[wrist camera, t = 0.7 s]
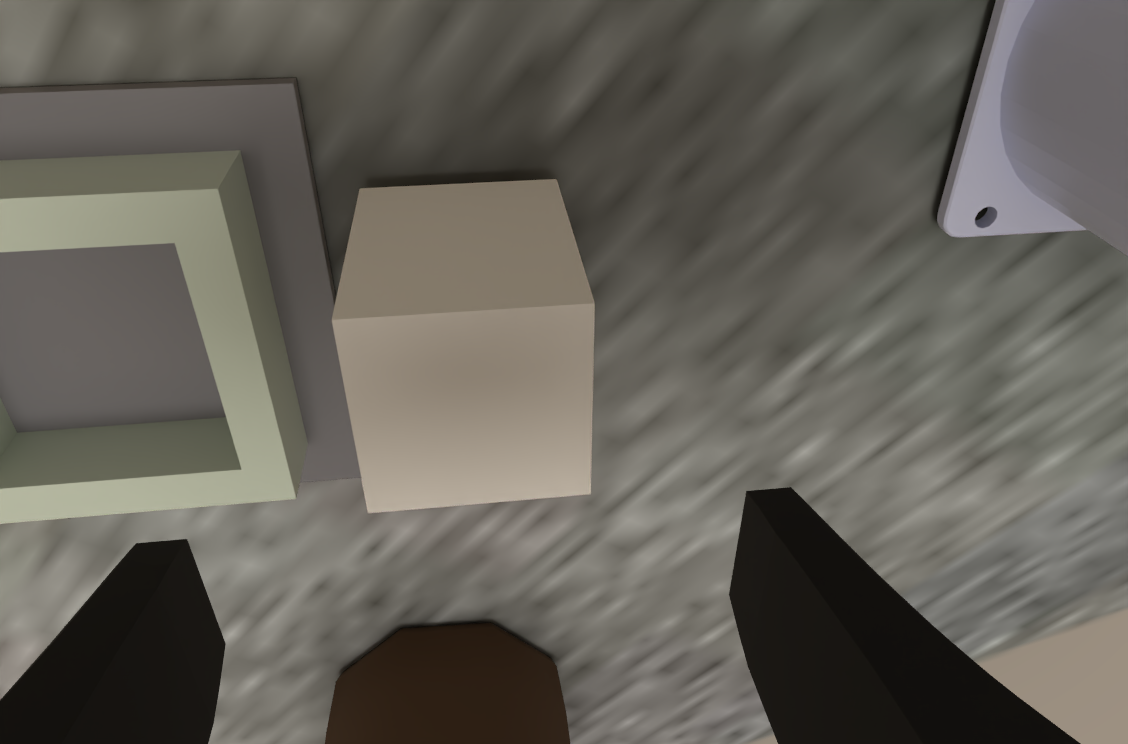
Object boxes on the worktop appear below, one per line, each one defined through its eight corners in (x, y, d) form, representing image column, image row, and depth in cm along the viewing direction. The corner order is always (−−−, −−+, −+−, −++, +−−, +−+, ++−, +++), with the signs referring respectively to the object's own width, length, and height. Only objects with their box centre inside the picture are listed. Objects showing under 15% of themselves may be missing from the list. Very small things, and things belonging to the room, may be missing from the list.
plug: (552, 165, 18) (594, 303, 13) (553, 324, 20) (590, 494, 15) (362, 173, 17) (331, 319, 12) (386, 335, 20) (368, 513, 15)
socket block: (296, 77, 16) (275, 115, 14) (367, 467, 22) (359, 532, 20) (-265, 97, 15) (-370, 140, 13) (-37, 499, 21) (-88, 572, 19)
